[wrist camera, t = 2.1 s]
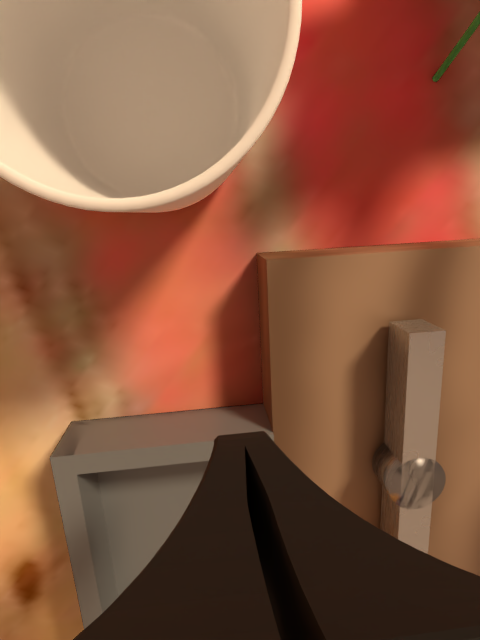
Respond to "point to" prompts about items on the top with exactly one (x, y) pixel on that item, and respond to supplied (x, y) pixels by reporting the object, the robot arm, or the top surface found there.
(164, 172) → the cup
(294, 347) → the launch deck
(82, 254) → the top surface
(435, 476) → the lever
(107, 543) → the tray
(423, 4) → the top surface
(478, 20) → the lily
